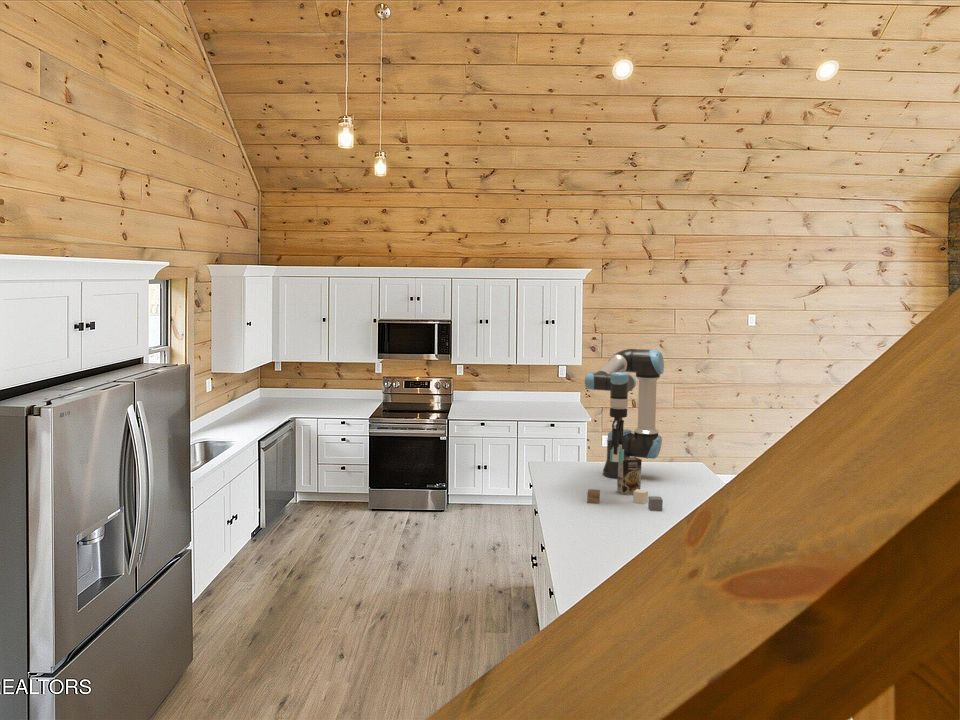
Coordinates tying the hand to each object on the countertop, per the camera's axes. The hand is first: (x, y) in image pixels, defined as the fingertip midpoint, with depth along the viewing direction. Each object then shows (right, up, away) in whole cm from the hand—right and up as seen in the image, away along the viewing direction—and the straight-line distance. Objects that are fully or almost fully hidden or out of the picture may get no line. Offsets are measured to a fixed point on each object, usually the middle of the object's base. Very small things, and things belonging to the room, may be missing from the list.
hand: (616, 460), depth 339 cm
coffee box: (+9, -18, +18) cm, 27 cm away
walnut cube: (-10, -19, +1) cm, 21 cm away
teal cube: (0, 0, 0) cm, 0 cm away
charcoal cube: (+15, -20, -9) cm, 26 cm away
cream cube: (+11, -19, +2) cm, 22 cm away
